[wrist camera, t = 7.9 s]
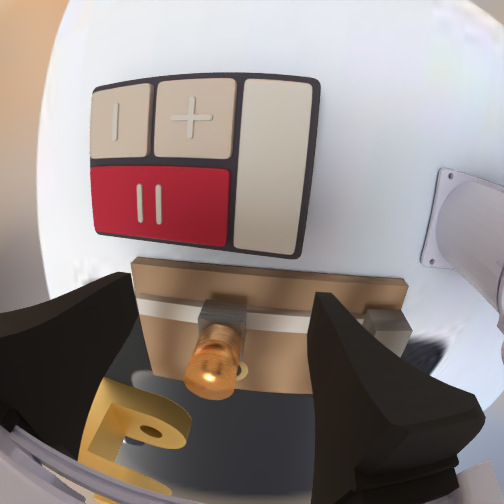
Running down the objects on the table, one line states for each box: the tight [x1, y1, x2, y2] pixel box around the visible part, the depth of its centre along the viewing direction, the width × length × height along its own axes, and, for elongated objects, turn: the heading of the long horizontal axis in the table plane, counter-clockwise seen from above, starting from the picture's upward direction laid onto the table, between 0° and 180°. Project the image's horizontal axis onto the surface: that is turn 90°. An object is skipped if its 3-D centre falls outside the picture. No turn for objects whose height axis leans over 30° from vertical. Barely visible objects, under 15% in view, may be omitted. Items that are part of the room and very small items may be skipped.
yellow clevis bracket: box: [77, 377, 192, 504], centre depth 24 cm, size 20×9×16 cm, turn 81°
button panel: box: [90, 73, 321, 259], centre depth 17 cm, size 11×4×15 cm
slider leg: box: [184, 299, 247, 400], centre depth 19 cm, size 3×9×7 cm, turn 177°
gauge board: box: [131, 257, 413, 394], centre depth 22 cm, size 22×13×5 cm, turn 87°
